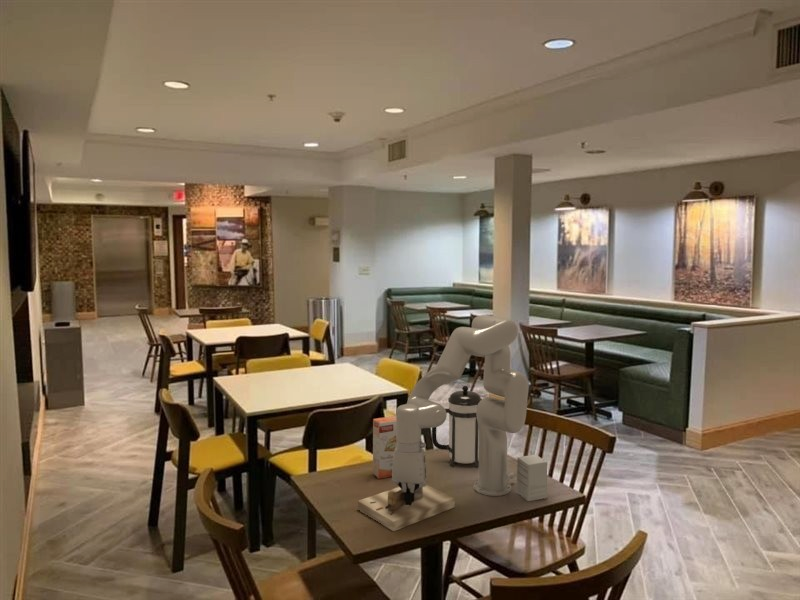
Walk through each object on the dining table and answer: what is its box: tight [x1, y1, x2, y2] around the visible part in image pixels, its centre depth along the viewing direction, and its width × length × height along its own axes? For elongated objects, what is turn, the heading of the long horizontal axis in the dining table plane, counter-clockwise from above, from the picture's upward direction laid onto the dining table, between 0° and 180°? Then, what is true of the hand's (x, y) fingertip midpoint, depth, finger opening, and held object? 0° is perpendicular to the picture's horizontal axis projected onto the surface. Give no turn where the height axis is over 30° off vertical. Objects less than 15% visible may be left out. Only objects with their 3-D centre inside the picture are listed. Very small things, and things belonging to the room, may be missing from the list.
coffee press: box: [431, 385, 483, 469], centre depth 225 cm, size 17×16×30 cm
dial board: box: [357, 484, 456, 532], centre depth 187 cm, size 25×18×3 cm
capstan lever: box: [385, 483, 423, 511], centre depth 184 cm, size 18×5×5 cm, turn 143°
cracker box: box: [372, 415, 397, 480], centre depth 215 cm, size 14×6×21 cm, turn 117°
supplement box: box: [516, 454, 548, 502], centre depth 196 cm, size 7×7×13 cm
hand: (409, 503), depth 181 cm, fingers closed
